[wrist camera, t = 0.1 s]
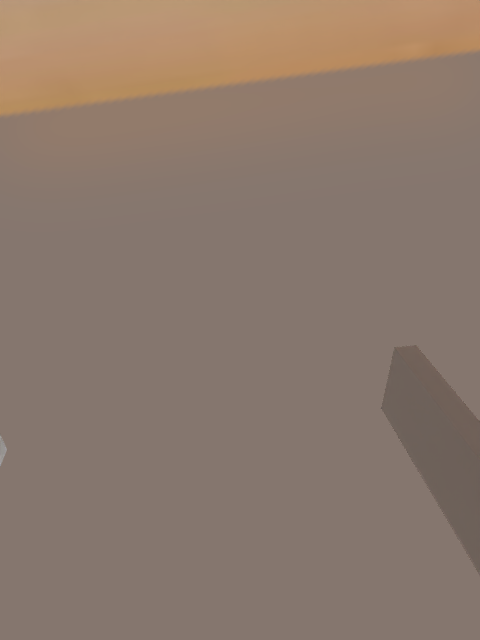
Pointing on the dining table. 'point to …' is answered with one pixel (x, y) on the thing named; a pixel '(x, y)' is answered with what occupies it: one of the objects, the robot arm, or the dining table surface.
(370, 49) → the dining table surface
